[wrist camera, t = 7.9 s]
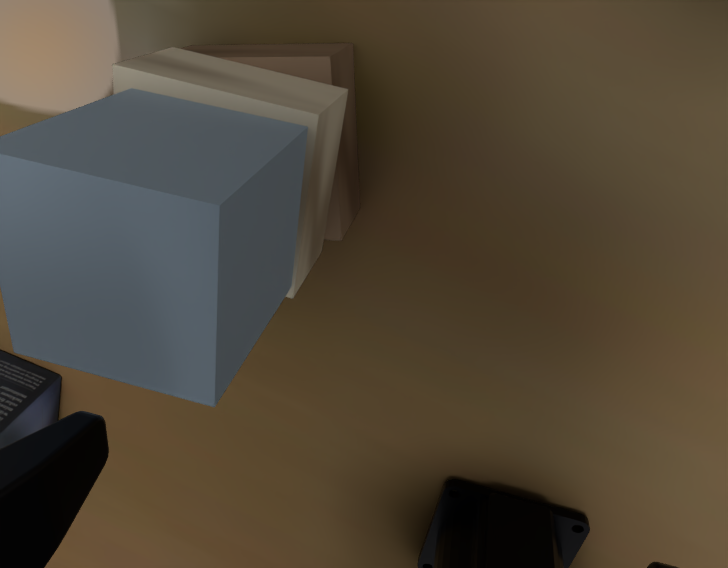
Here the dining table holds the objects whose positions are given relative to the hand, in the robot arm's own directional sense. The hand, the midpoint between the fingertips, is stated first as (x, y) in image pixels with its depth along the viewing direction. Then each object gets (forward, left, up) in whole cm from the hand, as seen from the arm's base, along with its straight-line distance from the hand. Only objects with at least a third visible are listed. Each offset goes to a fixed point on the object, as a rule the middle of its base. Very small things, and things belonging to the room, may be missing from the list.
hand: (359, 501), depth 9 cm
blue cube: (+1, +6, -7) cm, 9 cm away
